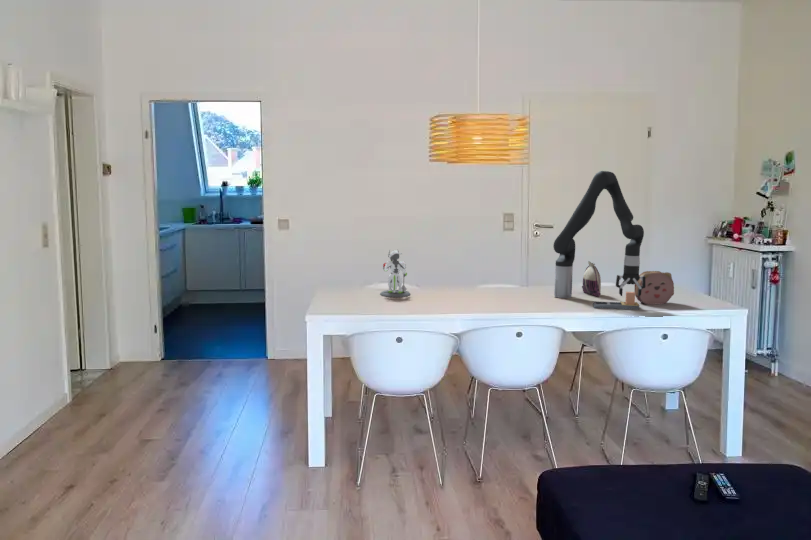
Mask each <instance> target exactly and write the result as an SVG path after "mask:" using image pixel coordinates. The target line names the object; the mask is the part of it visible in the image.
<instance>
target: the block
mask: <svg viewBox="0 0 811 540" xmlns="http://www.w3.org/2000/svg"><path fill="white" fill-rule="evenodd" d="M624 302H625V304H634V305H635V302H636V296H635V291H625V301H624Z"/></svg>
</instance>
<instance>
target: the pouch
mask: <svg viewBox="0 0 811 540" xmlns="http://www.w3.org/2000/svg"><path fill="white" fill-rule="evenodd" d="M587 263H588V266H587V267H585V271H584V273H583V277H582V286H581V288H582V292H583V293H585V294H589V295H592V296H594V297H597V298H600V297H601V292H602V291H601V289H602V281H601V280H602V278H601V274H600V271H599V270H598V268H597V267H596V266H595V265H596V264H595V263H594V262H591V261H589V260H588V262H587Z"/></svg>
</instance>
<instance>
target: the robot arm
mask: <svg viewBox="0 0 811 540" xmlns="http://www.w3.org/2000/svg"><path fill="white" fill-rule="evenodd" d="M603 190H606V191H607V192H608V193H609V194H610V197H611V199H612V206H613V211H614V213H615V215H616V217H617V218H618V219H617V220H618V221H619V223H620V229H621V231H622V235H623V236H624V237H625V238H626V239H628V240H630V241H629V243H627V244H626V245H625V248H624V250H625V252H624V259H623V274H622V275H620V274H617V275H616V279H615V287H616V288H618V289H619V290H618V294H619V296H620V297H623V290H624V289H623V288H624V287H625V285H635V284H636V285H637V286H638V288H639V289H638V296H639V297H640V295H641V290H642V289H643V288H645V276H639V275H640V264H641V260H640V259H641V258H640V257H641V256H640V254H641V245H642V242H643V240H644V235H645V231H644V228H643V226H642V225H640V224H633V223H632V221H633V220H634V215H633V213H632V211H631V209H630V208H629V205H628V203H627V202H626V199H625V198H624V195H623V192H622V189H621V186H620V184H619V181H618V178H617V176H616V174H615V173H614V172H612V171H607V170H600V171H597V172H596V173H595V175H594V176H593V178H592V180H591V182H590V183H589V185H588V188H587V189H586V192H585V193H584V195H583V197H582V199H581V200H580V202H579V204H578V205H577V206H576V208H575V210H574V211H573V213H572V214H571V216H570V218H569V220H568V222H567V223H566V224H565V226H564V228H563V229H562V230H561V232H559V234H558V236H557V237H556V238H555V239H554V242H553V244H552V245H553V250H554V252H555V253H556V254H559V257H557V259H556V260H555V267H554V268H555V271H554V274H555V276H554V290H553V291H554V294H553V295H554V298H560V299H561V298H562V299H568V298H569V299H570V298H572V296H573V293H572V291H573V271H574V270H573V269H574V267H573V266H574V262H575V257H576V241H575V240H574V238H575V236H576V235H577V234H578V233H579V232H580V231H581V230H583V228H584V227H585V226H586V225H588V223H589V222H590V220H591V219H592V218H593V216H594V213H595V211H596V205H597V200H598V198H599V196H600V195H601V193H602V192H603ZM621 279H622V280H623V281H622V282H621V284H620V281H621ZM639 279H641V280H642V286H640V285H639V283H638V282H637V281H638V280H639Z"/></svg>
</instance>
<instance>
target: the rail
mask: <svg viewBox="0 0 811 540" xmlns="http://www.w3.org/2000/svg"><path fill="white" fill-rule="evenodd" d="M592 307H593V308H594V309H610V310H611V309H612V310H640V304H639V303H638V302H637V301H635V305H634V304H625V301H620V302H619V301H599V300H596V301H592Z"/></svg>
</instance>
